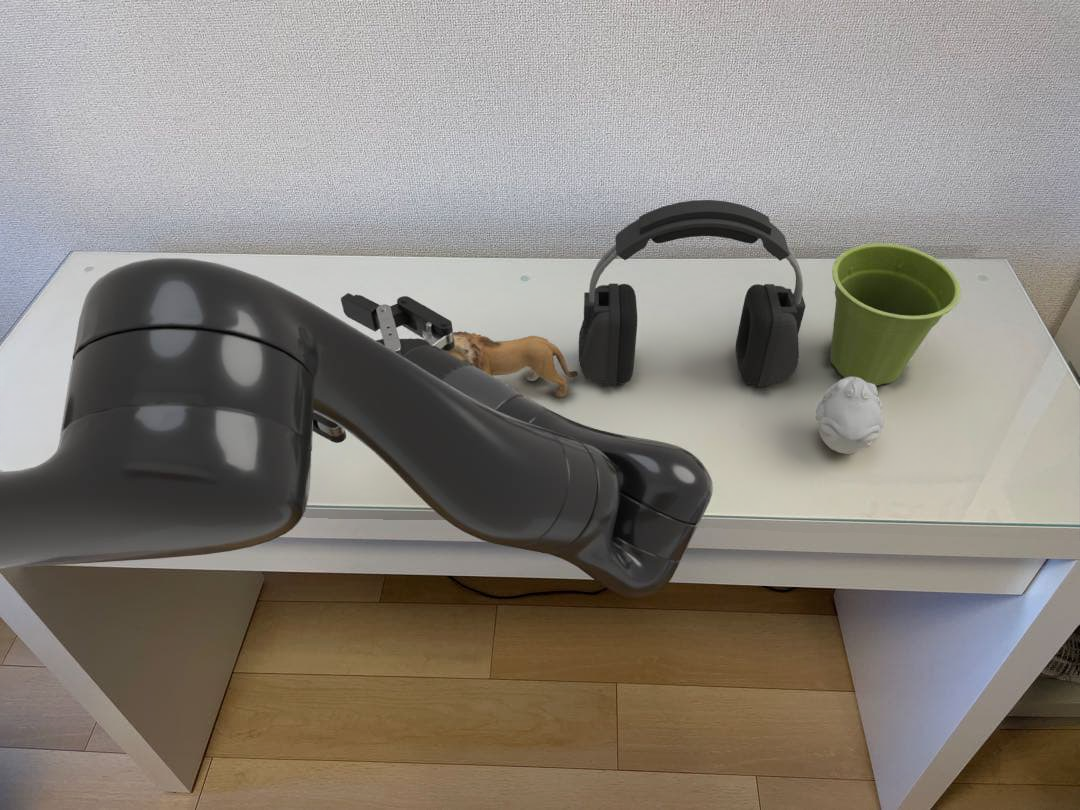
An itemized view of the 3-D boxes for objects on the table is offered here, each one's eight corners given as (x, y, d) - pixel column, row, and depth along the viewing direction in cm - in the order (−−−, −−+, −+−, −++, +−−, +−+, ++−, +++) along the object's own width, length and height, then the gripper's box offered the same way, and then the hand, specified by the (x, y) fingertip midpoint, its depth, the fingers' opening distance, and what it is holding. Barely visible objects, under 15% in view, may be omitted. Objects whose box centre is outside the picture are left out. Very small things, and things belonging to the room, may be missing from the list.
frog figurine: (872, 421, 84) (892, 370, 79) (874, 475, 80) (895, 425, 75) (809, 411, 85) (825, 360, 80) (807, 464, 81) (823, 413, 76)
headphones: (578, 389, 88) (581, 226, 74) (578, 347, 92) (581, 186, 78) (795, 391, 87) (841, 226, 73) (784, 349, 92) (826, 186, 77)
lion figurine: (445, 426, 85) (436, 360, 78) (434, 389, 88) (424, 323, 82) (585, 393, 88) (587, 327, 81) (569, 360, 91) (570, 293, 85)
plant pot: (935, 408, 85) (974, 322, 77) (813, 399, 87) (839, 314, 78) (914, 330, 93) (947, 245, 85) (803, 323, 95) (826, 238, 86)
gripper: (511, 323, 65) (360, 251, 72) (381, 437, 57) (226, 343, 64) (515, 392, 71) (375, 319, 78) (397, 505, 63) (252, 412, 70)
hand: (307, 330), depth 71 cm, fingers open, 8 cm apart
